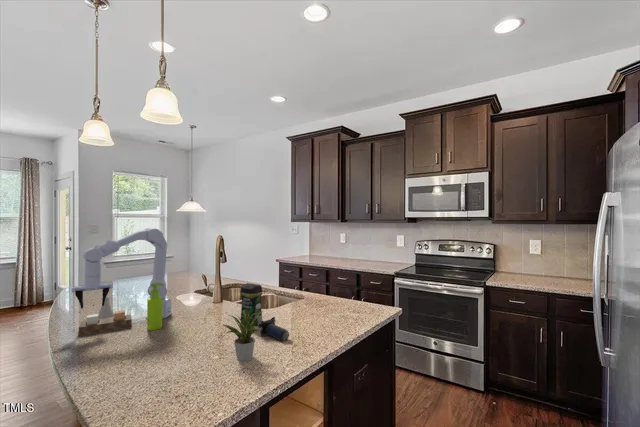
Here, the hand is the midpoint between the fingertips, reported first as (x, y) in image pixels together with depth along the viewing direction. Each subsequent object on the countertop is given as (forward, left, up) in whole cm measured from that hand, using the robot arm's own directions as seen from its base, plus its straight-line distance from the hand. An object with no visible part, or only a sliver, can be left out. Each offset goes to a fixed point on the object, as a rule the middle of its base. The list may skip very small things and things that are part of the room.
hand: (92, 306), depth 139 cm
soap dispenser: (-26, -2, -11) cm, 28 cm away
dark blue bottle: (-81, +13, -11) cm, 83 cm away
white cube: (0, 0, -8) cm, 8 cm away
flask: (+6, -19, -11) cm, 22 cm away
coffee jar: (-68, -4, -11) cm, 69 cm away
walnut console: (-4, -3, -10) cm, 12 cm away
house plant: (-72, +30, -11) cm, 79 cm away
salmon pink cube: (-9, -5, -8) cm, 13 cm away
